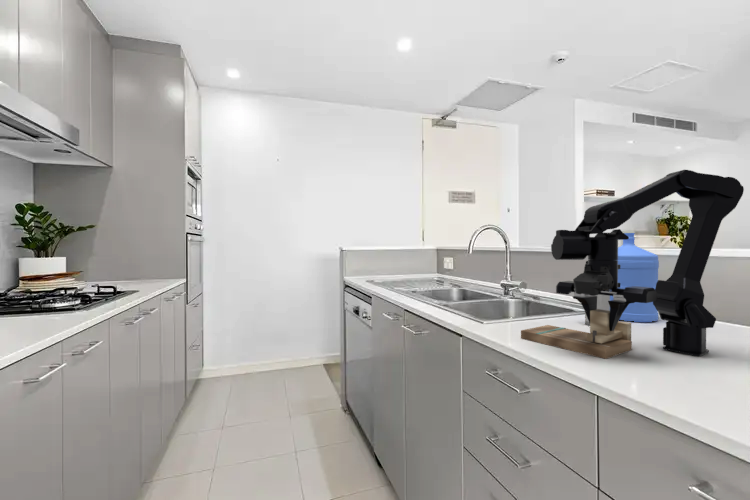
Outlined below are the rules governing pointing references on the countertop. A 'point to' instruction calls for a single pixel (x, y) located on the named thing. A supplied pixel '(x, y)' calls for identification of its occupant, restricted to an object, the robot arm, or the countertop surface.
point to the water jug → (637, 278)
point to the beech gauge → (606, 328)
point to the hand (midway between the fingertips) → (602, 329)
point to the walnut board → (575, 341)
